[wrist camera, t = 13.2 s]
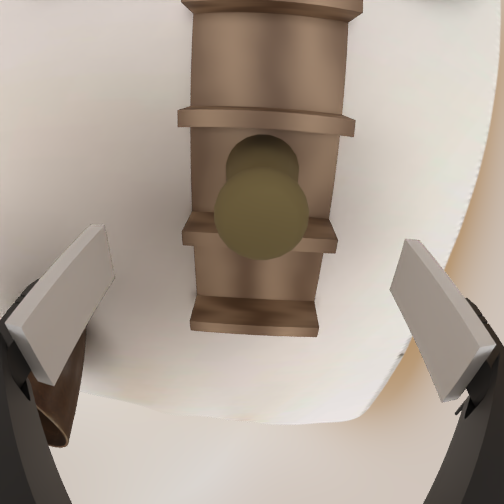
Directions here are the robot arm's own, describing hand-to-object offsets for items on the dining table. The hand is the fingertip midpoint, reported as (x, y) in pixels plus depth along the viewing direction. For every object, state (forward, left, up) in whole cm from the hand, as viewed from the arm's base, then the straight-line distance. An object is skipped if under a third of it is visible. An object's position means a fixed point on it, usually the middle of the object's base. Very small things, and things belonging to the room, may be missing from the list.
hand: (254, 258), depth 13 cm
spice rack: (0, 0, -15) cm, 15 cm away
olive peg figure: (0, 0, -14) cm, 14 cm away
